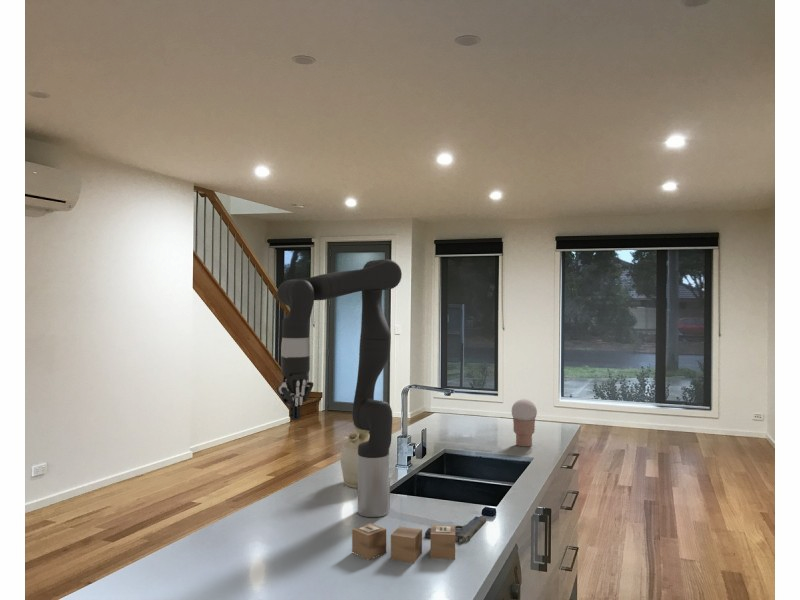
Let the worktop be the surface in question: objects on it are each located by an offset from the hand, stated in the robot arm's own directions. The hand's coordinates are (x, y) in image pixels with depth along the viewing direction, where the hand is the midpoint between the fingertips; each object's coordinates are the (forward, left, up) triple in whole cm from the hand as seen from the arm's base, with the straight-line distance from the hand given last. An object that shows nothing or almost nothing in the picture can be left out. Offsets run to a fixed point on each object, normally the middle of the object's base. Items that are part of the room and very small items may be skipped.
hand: (295, 419), depth 163 cm
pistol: (-26, +35, -32) cm, 54 cm away
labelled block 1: (-1, +23, -31) cm, 39 cm away
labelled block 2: (-10, +39, -31) cm, 51 cm away
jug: (-49, -11, -31) cm, 59 cm away
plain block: (-4, +32, -31) cm, 45 cm away
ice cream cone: (-132, +18, -31) cm, 137 cm away
